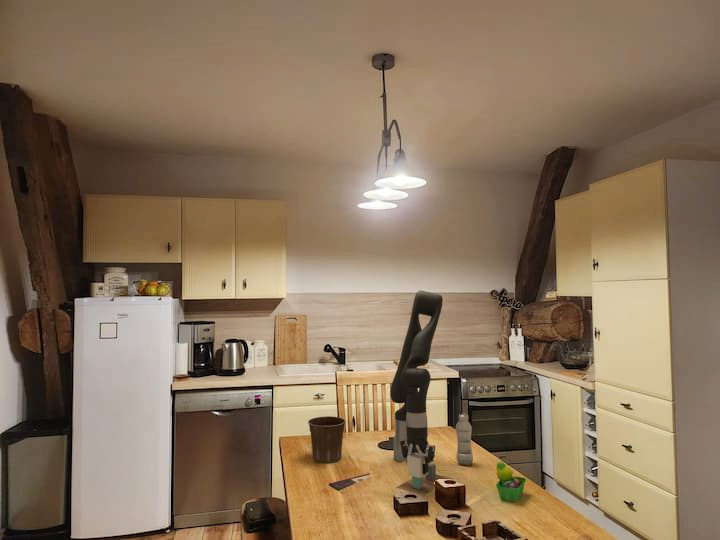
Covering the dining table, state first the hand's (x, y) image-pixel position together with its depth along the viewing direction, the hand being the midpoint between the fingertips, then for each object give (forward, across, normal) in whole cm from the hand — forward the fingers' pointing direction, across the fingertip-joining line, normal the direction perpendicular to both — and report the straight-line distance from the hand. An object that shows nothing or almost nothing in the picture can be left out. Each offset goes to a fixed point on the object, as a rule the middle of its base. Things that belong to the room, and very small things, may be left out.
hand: (418, 471), depth 183 cm
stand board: (+7, 0, +5) cm, 8 cm away
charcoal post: (+5, 0, +9) cm, 10 cm away
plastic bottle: (+7, 0, +35) cm, 36 cm away
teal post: (+5, 0, 0) cm, 5 cm away
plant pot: (+6, -50, +6) cm, 51 cm away
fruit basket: (+7, +28, +15) cm, 32 cm away
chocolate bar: (+7, -22, -8) cm, 25 cm away
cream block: (+1, 0, 0) cm, 1 cm away
